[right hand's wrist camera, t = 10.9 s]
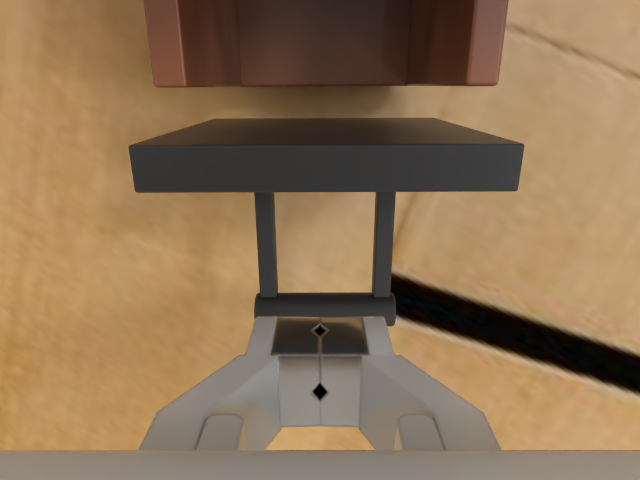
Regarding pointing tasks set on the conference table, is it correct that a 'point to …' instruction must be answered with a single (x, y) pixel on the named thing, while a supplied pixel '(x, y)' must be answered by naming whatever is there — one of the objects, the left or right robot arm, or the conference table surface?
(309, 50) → the drawer
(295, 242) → the conference table surface
